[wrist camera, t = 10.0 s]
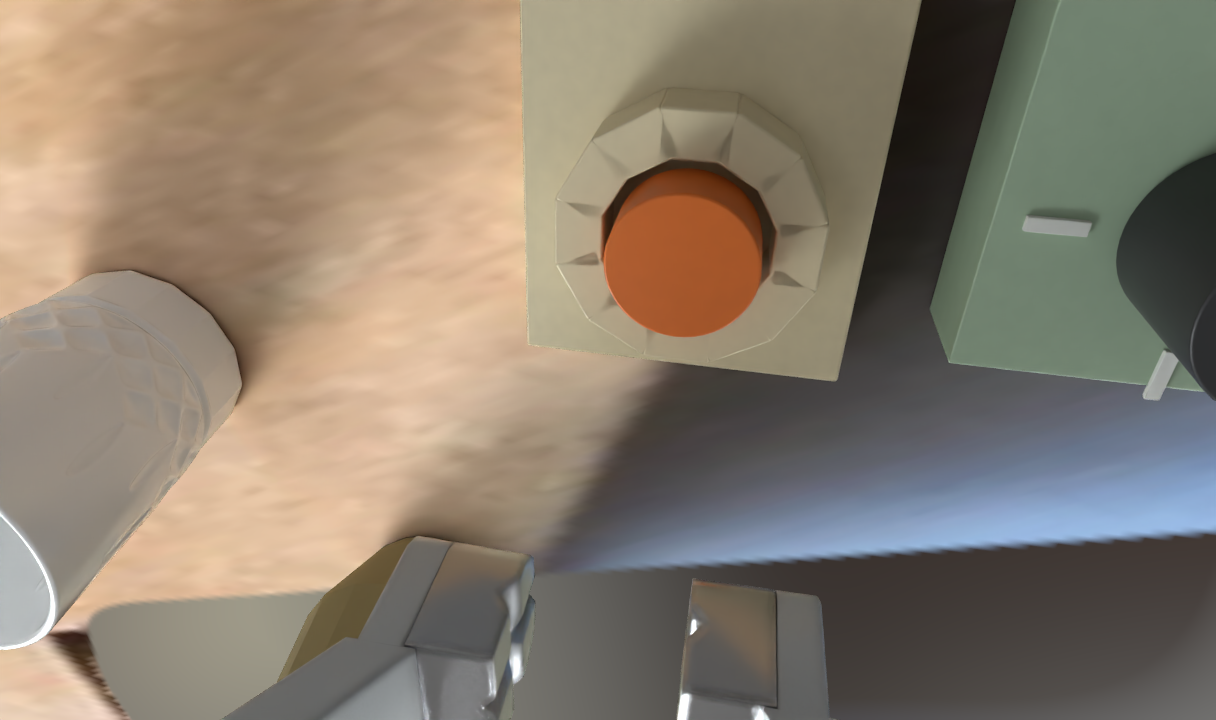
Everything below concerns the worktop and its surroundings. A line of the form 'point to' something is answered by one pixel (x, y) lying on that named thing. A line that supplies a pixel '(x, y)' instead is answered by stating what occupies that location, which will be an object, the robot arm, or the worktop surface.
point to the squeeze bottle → (345, 607)
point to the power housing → (709, 158)
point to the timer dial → (1176, 266)
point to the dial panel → (1075, 187)
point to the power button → (685, 253)
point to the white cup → (97, 431)
